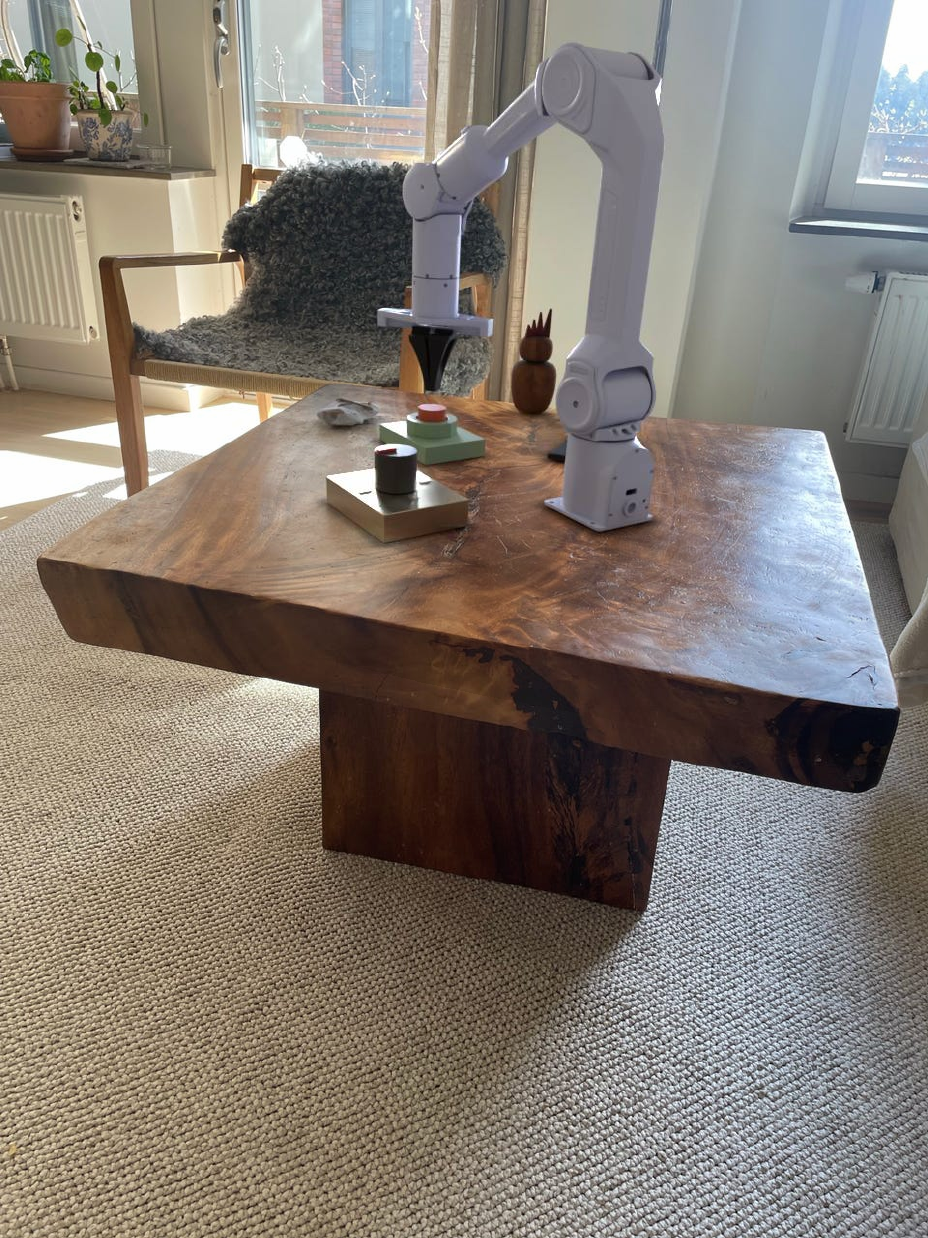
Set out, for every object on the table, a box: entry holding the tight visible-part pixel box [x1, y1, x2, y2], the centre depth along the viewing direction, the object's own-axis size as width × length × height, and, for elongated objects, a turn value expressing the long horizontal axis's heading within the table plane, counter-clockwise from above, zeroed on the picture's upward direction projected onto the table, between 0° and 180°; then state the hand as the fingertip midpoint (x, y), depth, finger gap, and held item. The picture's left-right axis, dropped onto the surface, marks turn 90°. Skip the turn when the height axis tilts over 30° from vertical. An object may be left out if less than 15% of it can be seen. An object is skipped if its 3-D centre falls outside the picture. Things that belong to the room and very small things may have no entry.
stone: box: [316, 397, 381, 427], centre depth 126 cm, size 10×7×3 cm
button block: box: [379, 411, 487, 466], centre depth 116 cm, size 12×9×4 cm
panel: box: [325, 468, 470, 544], centre depth 94 cm, size 13×10×3 cm
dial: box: [374, 444, 418, 494], centre depth 93 cm, size 4×4×4 cm
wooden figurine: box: [510, 308, 557, 414], centre depth 133 cm, size 7×6×15 cm
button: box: [417, 403, 447, 422], centre depth 115 cm, size 4×4×2 cm
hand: (432, 389), depth 113 cm, fingers closed
